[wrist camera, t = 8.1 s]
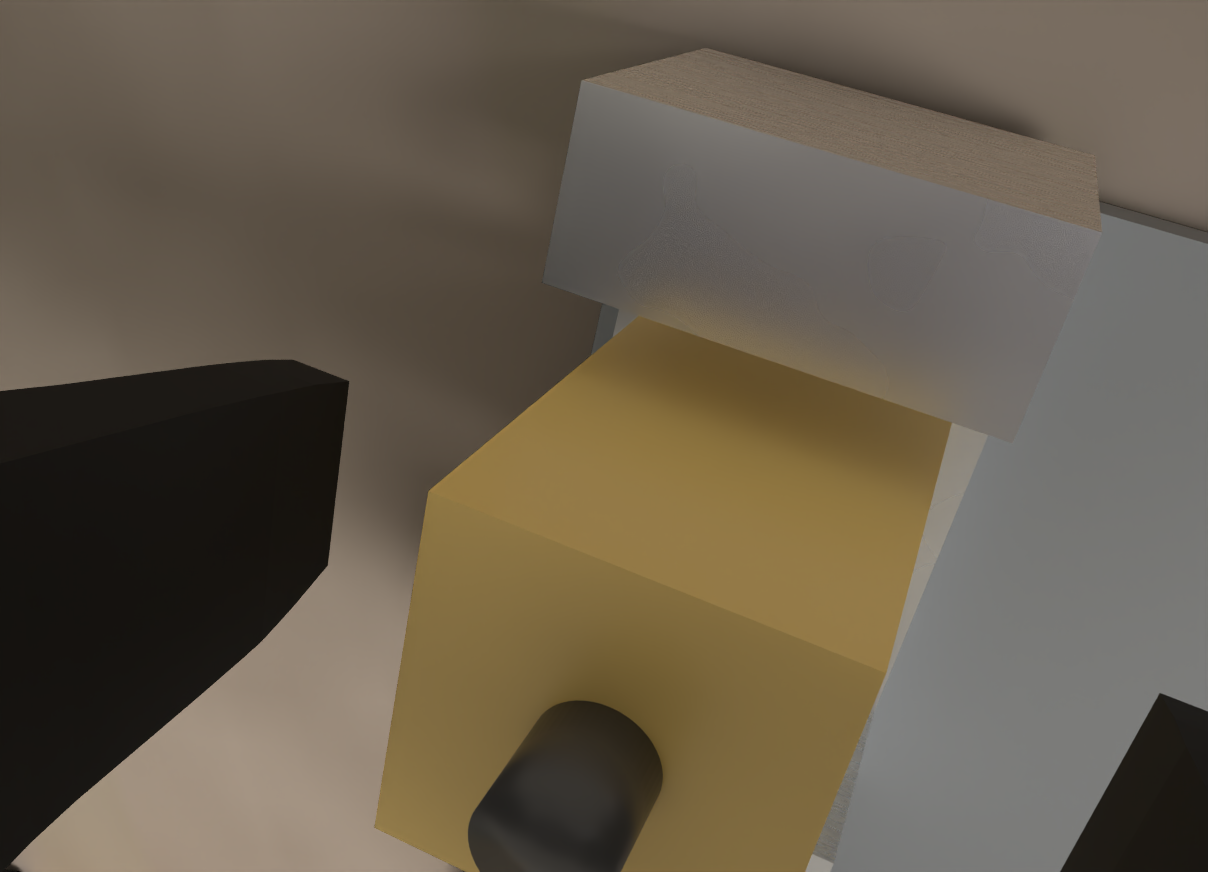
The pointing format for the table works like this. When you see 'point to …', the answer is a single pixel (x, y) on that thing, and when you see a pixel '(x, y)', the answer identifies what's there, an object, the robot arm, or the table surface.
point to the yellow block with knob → (655, 616)
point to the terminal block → (831, 250)
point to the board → (1054, 584)
